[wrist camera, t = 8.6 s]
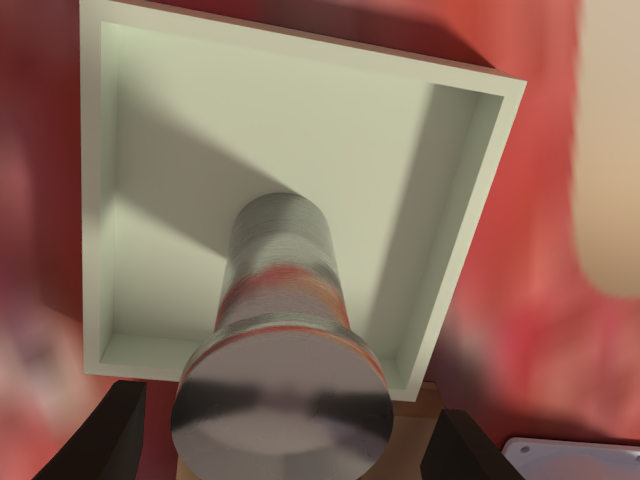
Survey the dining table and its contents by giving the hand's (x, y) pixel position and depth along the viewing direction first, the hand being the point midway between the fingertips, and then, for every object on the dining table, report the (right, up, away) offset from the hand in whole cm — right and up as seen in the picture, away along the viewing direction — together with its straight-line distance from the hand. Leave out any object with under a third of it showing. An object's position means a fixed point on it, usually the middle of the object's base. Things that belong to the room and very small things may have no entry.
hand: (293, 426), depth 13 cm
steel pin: (-1, +5, +8) cm, 10 cm away
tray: (-1, +6, +9) cm, 10 cm away
